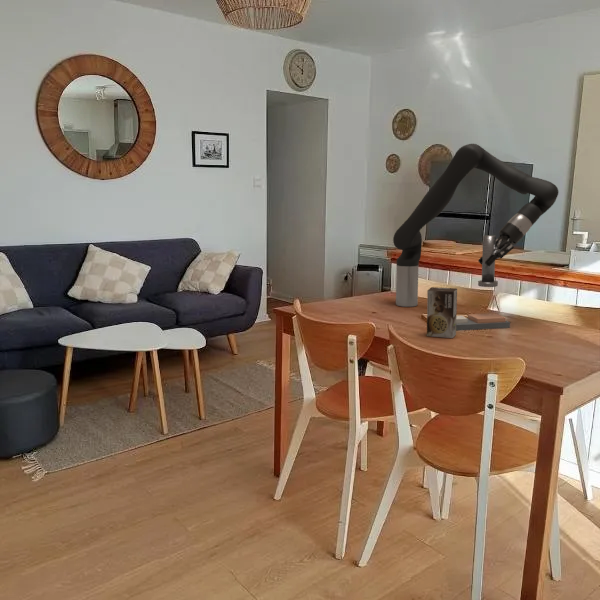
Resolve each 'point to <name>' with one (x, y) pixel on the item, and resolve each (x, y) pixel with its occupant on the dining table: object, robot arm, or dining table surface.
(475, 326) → the button board
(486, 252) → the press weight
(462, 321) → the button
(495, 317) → the button
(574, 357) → the dining table surface
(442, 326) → the coffee box
